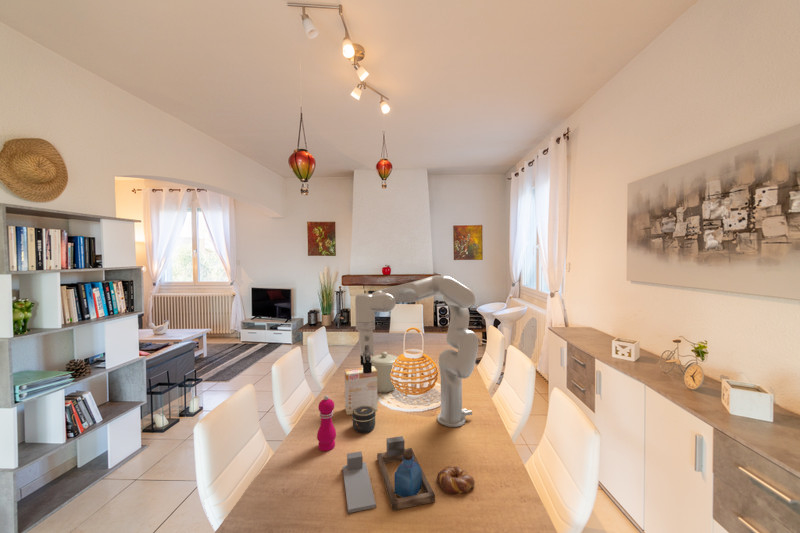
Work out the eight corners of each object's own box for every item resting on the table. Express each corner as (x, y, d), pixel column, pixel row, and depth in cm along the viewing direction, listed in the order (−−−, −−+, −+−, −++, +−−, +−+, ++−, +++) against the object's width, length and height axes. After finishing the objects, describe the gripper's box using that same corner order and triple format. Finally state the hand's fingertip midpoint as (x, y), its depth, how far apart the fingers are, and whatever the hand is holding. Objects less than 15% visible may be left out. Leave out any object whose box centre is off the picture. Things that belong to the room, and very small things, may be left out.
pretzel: (474, 476, 106) (474, 465, 106) (474, 499, 95) (474, 487, 95) (438, 470, 109) (438, 459, 109) (435, 492, 98) (435, 481, 98)
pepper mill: (339, 443, 125) (339, 393, 125) (329, 453, 118) (329, 400, 118) (323, 439, 127) (323, 390, 127) (313, 450, 120) (312, 398, 120)
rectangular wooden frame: (411, 453, 118) (411, 434, 118) (435, 501, 94) (435, 478, 94) (377, 458, 114) (377, 439, 114) (392, 510, 91) (392, 486, 91)
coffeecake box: (374, 404, 159) (374, 365, 158) (377, 410, 152) (377, 370, 152) (344, 408, 154) (344, 369, 154) (346, 415, 147) (346, 374, 147)
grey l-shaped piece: (365, 464, 111) (365, 450, 111) (375, 507, 92) (375, 490, 92) (342, 468, 109) (342, 454, 109) (348, 513, 90) (348, 495, 90)
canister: (372, 382, 188) (372, 346, 187) (402, 383, 185) (402, 347, 185) (364, 395, 170) (364, 356, 169) (398, 396, 167) (397, 357, 167)
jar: (347, 430, 134) (347, 412, 134) (361, 420, 143) (361, 403, 143) (367, 436, 130) (367, 418, 129) (379, 425, 138) (379, 408, 138)
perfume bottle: (411, 501, 94) (411, 462, 94) (394, 493, 98) (394, 455, 98) (421, 488, 100) (421, 451, 99) (404, 481, 103) (404, 445, 103)
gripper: (378, 329, 116) (378, 375, 117) (371, 320, 133) (372, 361, 133) (357, 330, 115) (358, 377, 115) (354, 321, 132) (354, 362, 132)
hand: (365, 368), depth 124 cm, fingers open, 9 cm apart
